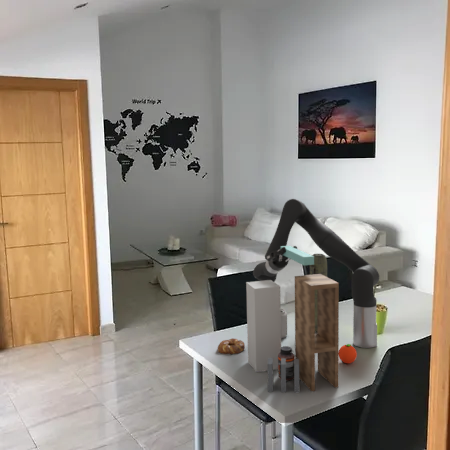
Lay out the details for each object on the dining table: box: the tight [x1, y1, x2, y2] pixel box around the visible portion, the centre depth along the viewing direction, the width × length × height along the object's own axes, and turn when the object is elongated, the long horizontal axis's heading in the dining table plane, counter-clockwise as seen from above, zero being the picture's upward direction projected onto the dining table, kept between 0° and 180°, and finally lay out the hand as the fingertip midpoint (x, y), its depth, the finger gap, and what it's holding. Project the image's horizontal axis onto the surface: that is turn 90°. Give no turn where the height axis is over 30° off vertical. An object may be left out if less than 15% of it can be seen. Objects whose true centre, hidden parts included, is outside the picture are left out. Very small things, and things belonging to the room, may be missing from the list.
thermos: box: [309, 253, 328, 334], centre depth 229 cm, size 9×12×35 cm
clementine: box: [338, 343, 358, 364], centre depth 194 cm, size 8×7×7 cm
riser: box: [245, 280, 282, 373], centre depth 192 cm, size 10×10×32 cm
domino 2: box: [280, 358, 287, 393], centre depth 174 cm, size 2×5×10 cm, turn 173°
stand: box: [294, 274, 340, 392], centre depth 177 cm, size 14×10×37 cm
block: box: [280, 245, 314, 266], centre depth 190 cm, size 22×4×3 cm, turn 16°
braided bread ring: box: [217, 338, 246, 355], centre depth 210 cm, size 12×11×4 cm
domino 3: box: [293, 359, 300, 394], centre depth 173 cm, size 2×5×10 cm, turn 173°
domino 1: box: [267, 358, 274, 393], centre depth 174 cm, size 2×5×10 cm, turn 173°
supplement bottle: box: [277, 345, 295, 382], centre depth 182 cm, size 6×6×11 cm
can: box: [281, 308, 288, 339], centre depth 224 cm, size 8×8×12 cm
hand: (290, 248), depth 195 cm, fingers closed on block, 4 cm apart
